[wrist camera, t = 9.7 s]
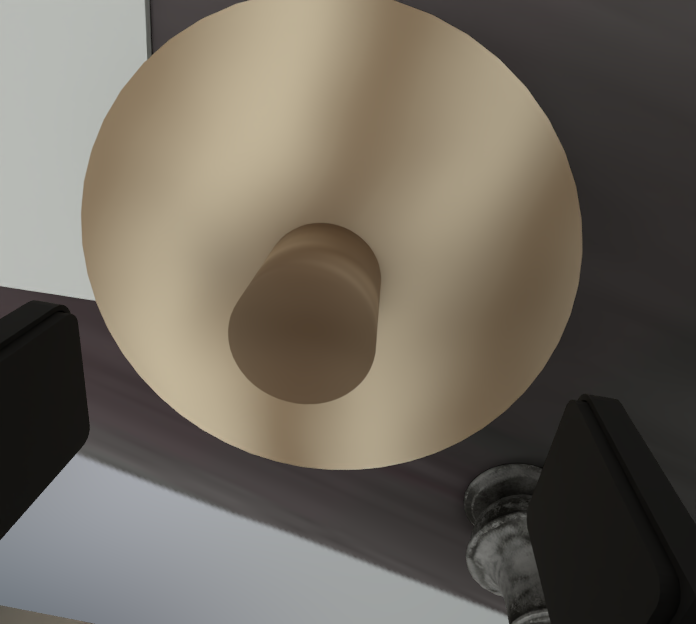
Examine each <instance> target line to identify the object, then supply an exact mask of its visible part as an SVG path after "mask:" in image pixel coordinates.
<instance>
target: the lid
mask: <svg viewBox="0 0 696 624" xmlns="http://www.w3.org/2000/svg"><path fill="white" fill-rule="evenodd" d="M81 228H82V246H83V251H84V257H85V263H86V268H87V274H88V277H89V280H90V284H91V287H92V290H93V293H94V297H95V300H96V303H97V305H98V307H99V309H100V312H101V314H102V316H103V318H104V321H105V323H106V325H107V327H108V329H109V331H110V333H111V334H112V336H113V338H114V339H115V341H116V343H117V344H118V346H119V348H120V349H121V351H122V353H123V354H124V356H125V357H126V358H127V360H128V361H129V362H130V363H131V365H132V366H133V367H134V369H135V370H136V371H137V373H138V374H139V375H140V377H141V378H142V379H143V380H144V381H145V382H146V383H147V384H148V385H149V386H150V387H151V388H152V389H153V390H154V391H155V392H156V393H157V395H158V396H159V397H161V398H162V399H163V400H164V401H165V402H166V403H168V404H169V405H170V406H171V407H172V408H173V409H175V410H176V411H177V412H178V413H179V414H181V415H182V416H183V417H185V418H186V419H188V420H189V421H191V422H192V423H194V424H195V425H196V426H198V427H199V428H201V429H202V430H204V431H206V432H208V433H209V434H211V435H213V436H215V437H217V438H219V439H220V440H222V441H224V442H226V443H228V444H230V445H233V446H235V447H237V448H240V449H242V450H244V451H247V452H249V453H251V454H255V455H258V456H261V457H264V458H267V459H271V460H274V461H277V462H282V463H287V464H292V465H296V466H301V467H309V468H319V469H328V470H358V469H368V468H378V467H385V466H390V465H395V464H400V463H405V462H409V461H412V460H415V459H419V458H422V457H425V456H428V455H431V454H434V453H436V452H439V451H441V450H443V449H445V448H448V447H450V446H452V445H454V444H456V443H459V442H461V441H462V440H464V439H466V438H467V437H469V436H471V435H472V434H474V433H476V432H477V431H479V430H481V429H482V428H484V427H485V426H486V425H488V424H489V423H490V422H492V421H493V420H494V419H495V418H497V417H498V416H499V415H501V414H502V413H503V412H505V411H506V410H507V409H508V408H509V407H510V406H511V405H512V404H513V403H514V402H515V401H516V400H517V399H518V398H519V397H520V396H521V395H522V394H523V393H524V392H525V391H526V390H527V389H528V387H529V386H530V385H531V383H532V382H533V381H534V380H535V378H536V377H537V376H538V375H539V373H540V372H541V371H542V369H543V368H544V366H545V365H546V363H547V361H548V360H549V358H550V356H551V355H552V353H553V351H554V350H555V348H556V346H557V345H558V343H559V340H560V338H561V336H562V333H563V331H564V329H565V326H566V324H567V322H568V319H569V317H570V314H571V311H572V307H573V303H574V299H575V296H576V292H577V288H578V284H579V276H580V268H581V260H582V219H581V213H580V207H579V201H578V195H577V189H576V184H575V181H574V178H573V175H572V172H571V169H570V166H569V163H568V160H567V157H566V154H565V151H564V149H563V147H562V145H561V143H560V141H559V139H558V137H557V135H556V133H555V131H554V129H553V127H552V125H551V123H550V121H549V119H548V118H547V116H546V115H545V113H544V112H543V110H542V109H541V108H540V106H539V105H538V103H537V102H536V100H535V99H534V98H533V96H532V95H531V93H530V92H529V90H528V89H527V88H526V87H525V85H524V84H523V83H522V82H521V81H520V80H519V79H518V78H517V77H516V76H515V75H514V74H513V73H512V72H511V71H510V70H509V69H508V68H507V67H506V66H505V65H504V63H503V62H502V61H501V60H500V59H499V58H497V57H496V56H495V55H493V54H492V53H491V52H490V51H488V50H487V49H486V48H484V47H483V46H482V45H480V44H479V43H478V42H477V41H475V40H474V39H473V38H471V37H470V36H469V35H467V34H466V33H464V32H462V31H460V30H459V29H457V28H455V27H453V26H451V25H450V24H448V23H446V22H444V21H442V20H441V19H439V18H437V17H435V16H434V15H431V14H429V13H426V12H423V11H421V10H418V9H415V8H413V7H410V6H407V5H405V4H402V3H399V2H397V1H394V0H249V1H246V2H242V3H238V4H235V5H233V6H230V7H228V8H226V9H224V10H221V11H219V12H217V13H214V14H212V15H210V16H208V17H205V18H203V19H201V20H199V21H198V22H196V23H195V24H193V25H192V26H190V27H188V28H187V29H185V30H184V31H182V32H181V33H179V34H178V35H176V36H174V37H173V38H171V39H170V40H169V41H168V42H166V43H165V44H164V45H163V46H162V47H161V48H160V49H159V50H158V51H156V52H155V53H154V54H153V55H152V56H151V57H150V58H149V59H147V60H146V61H145V62H144V63H143V64H142V65H141V67H140V68H139V69H138V70H137V71H136V73H135V74H134V75H133V76H132V78H131V79H130V80H129V81H128V82H127V84H126V85H125V86H124V87H123V89H122V90H121V91H120V93H119V95H118V96H117V98H116V100H115V101H114V103H113V105H112V106H111V108H110V110H109V112H108V113H107V115H106V117H105V118H104V120H103V123H102V125H101V128H100V130H99V133H98V135H97V138H96V140H95V143H94V145H93V148H92V150H91V154H90V158H89V162H88V166H87V171H86V175H85V179H84V185H83V196H82V206H81Z"/></svg>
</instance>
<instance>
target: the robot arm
mask: <svg viewBox="0 0 696 624" xmlns="http://www.w3.org/2000/svg"><path fill="white" fill-rule="evenodd" d="M89 430H90V425H89V416H88V407H87V398H86V389H85V381H84V372H83V363H82V354H81V345H80V337H79V328H78V321H77V318H76V317H75V316H74V315H73V314H71V313H70V311H69V309H68V308H67V307H66V306H64V305H60V304H54V303H48V302H42V301H35V300H33V301H30V302H28V303H26V304H24V305H23V306H21V307H19V308H18V309H16V310H14V311H13V312H11V313H9V314H8V315H6V316H4V317H3V318H1V319H0V540H1V539H2V537H3V536H4V535H5V534H6V533H7V532H8V531H9V529H10V528H11V527H12V526H13V525H14V524H15V523H16V522H17V520H18V519H19V518H20V517H21V516H22V515H23V513H24V512H25V511H26V510H27V509H28V508H29V506H31V504H32V503H33V502H34V501H35V500H36V499H37V497H39V495H40V494H41V493H42V492H43V491H44V490H45V488H46V487H47V486H48V485H49V484H50V483H51V482H52V481H53V479H54V478H55V477H56V476H57V475H58V474H59V473H60V472H61V470H62V469H63V468H64V467H65V466H66V464H67V463H68V462H69V461H70V460H71V459H72V458H73V457H74V456H75V454H76V453H77V452H78V451H79V450H80V449H81V448H82V446H83V445H84V444H85V442H86V440H87V438H88V435H89ZM527 529H528V533H529V537H530V541H531V545H532V549H533V553H534V557H535V561H536V565H537V569H538V573H539V578H540V582H541V586H542V590H543V594H544V598H545V602H546V606H547V610H548V614H549V618H550V622H551V624H696V524H695V523H694V521H693V519H692V518H691V516H690V515H689V513H688V511H687V510H686V508H685V506H684V505H683V503H682V502H681V500H680V498H679V497H678V495H677V494H676V492H675V490H674V489H673V487H672V485H671V484H670V482H669V481H668V479H667V477H666V476H665V474H664V472H663V471H662V469H661V468H660V466H659V464H658V463H657V461H656V459H655V458H654V456H653V455H652V453H651V451H650V450H649V448H648V446H647V445H646V443H645V442H644V440H643V438H642V437H641V435H640V434H639V432H638V430H637V429H636V427H635V425H634V424H633V422H632V421H631V419H630V417H629V416H628V414H627V412H626V411H625V409H624V408H623V406H622V404H621V403H620V402H619V401H618V400H616V399H612V398H606V397H600V396H594V395H588V394H583V395H581V396H580V398H579V399H578V401H577V400H571V401H569V403H568V404H567V406H566V409H565V411H564V414H563V416H562V419H561V422H560V424H559V427H558V430H557V432H556V435H555V437H554V440H553V443H552V445H551V448H550V451H549V453H548V456H547V458H546V461H545V464H544V466H543V469H542V472H541V474H540V477H539V479H538V482H537V485H536V487H535V490H534V493H533V495H532V498H531V500H530V503H529V506H528V509H527ZM0 624H93V623H87V622H83V621H78V620H73V619H68V618H62V617H57V616H52V615H47V614H42V613H36V612H32V611H26V610H21V609H16V608H11V607H6V606H1V605H0Z"/></svg>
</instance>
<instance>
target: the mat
mask: <svg viewBox="0 0 696 624" xmlns="http://www.w3.org/2000/svg"><path fill="white" fill-rule="evenodd" d="M151 56H152V55H151V27H150V0H0V286H4V287H10V288H17V289H23V290H30V291H37V292H43V293H50V294H56V295H63V296H69V297H76V298H82V299H89V300H95V297H94V293H93V290H92V287H91V284H90V280H89V277H88V274H87V268H86V263H85V257H84V251H83V246H82V228H81V206H82V196H83V185H84V179H85V175H86V171H87V166H88V162H89V158H90V154H91V150H92V148H93V145H94V143H95V140H96V138H97V135H98V133H99V130H100V128H101V125H102V123H103V120H104V118H105V117H106V115H107V113H108V112H109V110H110V108H111V106H112V105H113V103H114V101H115V100H116V98H117V96H118V95H119V93H120V91H121V90H122V89H123V87H124V86H125V85H126V84H127V82H128V81H129V80H130V79H131V78H132V76H133V75H134V74H135V73H136V71H137V70H138V69H139V68H140V67H141V65H142V64H143V63H144V62H145V61H146V60H147V59H149V58H150V57H151ZM95 301H96V300H95Z"/></svg>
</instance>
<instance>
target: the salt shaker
mask: <svg viewBox="0 0 696 624" xmlns="http://www.w3.org/2000/svg"><path fill="white" fill-rule="evenodd" d="M541 472H542V468H539V467H536V466H533V465H528V464H519V463H516V464H504V465H501V466H497V467H494V468H491V469H489V470H487V471H485V472H483V473H482V474H480V475H479V476H478V477H477V478H475V479H474V480H473V481H472V482H471V484H470V485H469V487H468V488H467V490H466V492H465V497H464V508H465V513H466V515H467V517H468V519H469V521H470V522H471V523H472V524H473V525H474V528H473V531H472V535H471V539H470V542H469V544H468V547H467V552H466V561H467V568H468V570H469V572H470V573H471V575H472V577H473V578H474V579H475V580H476V581H477V582H478V583H479V584H480V585H481V586H482V587H483V588H485V589H487V590H489V591H490V592H492V593H494V594H496V595H499V596H503V597H504V600H505V605H506V610H507V615H508V620H509V624H551V622H550V618H549V614H548V610H547V606H546V602H545V598H544V594H543V590H542V586H541V582H540V578H539V573H538V569H537V565H536V561H535V557H534V553H533V549H532V545H531V541H530V537H529V533H528V529H527V509H528V506H529V503H530V500H531V498H532V495H533V493H534V490H535V487H536V485H537V482H538V479H539V477H540V474H541Z"/></svg>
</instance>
